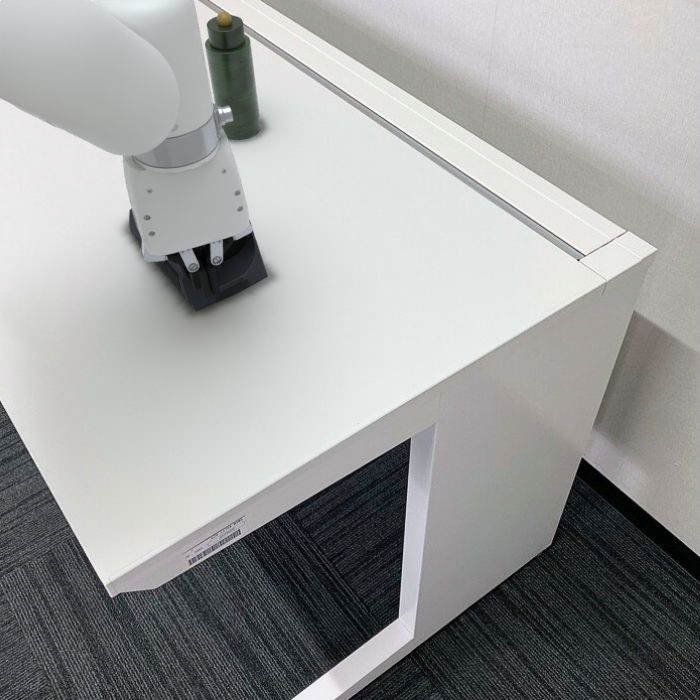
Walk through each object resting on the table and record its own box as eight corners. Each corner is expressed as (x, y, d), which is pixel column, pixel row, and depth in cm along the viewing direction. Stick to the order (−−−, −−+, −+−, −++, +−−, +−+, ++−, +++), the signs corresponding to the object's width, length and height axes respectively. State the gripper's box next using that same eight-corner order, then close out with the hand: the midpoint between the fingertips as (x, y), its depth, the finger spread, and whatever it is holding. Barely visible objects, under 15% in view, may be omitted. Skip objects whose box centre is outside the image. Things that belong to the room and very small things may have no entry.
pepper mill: (226, 143, 101) (207, 26, 89) (214, 122, 104) (194, 7, 92) (266, 133, 102) (253, 17, 90) (253, 112, 106) (238, -2, 94)
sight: (191, 195, 93) (175, 123, 86) (269, 277, 83) (258, 203, 76) (121, 225, 90) (98, 152, 82) (193, 313, 80) (175, 240, 72)
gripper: (244, 91, 69) (266, 246, 82) (76, 131, 65) (129, 286, 79) (271, 134, 64) (290, 291, 78) (92, 180, 60) (145, 335, 74)
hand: (209, 288), depth 78 cm, fingers closed
